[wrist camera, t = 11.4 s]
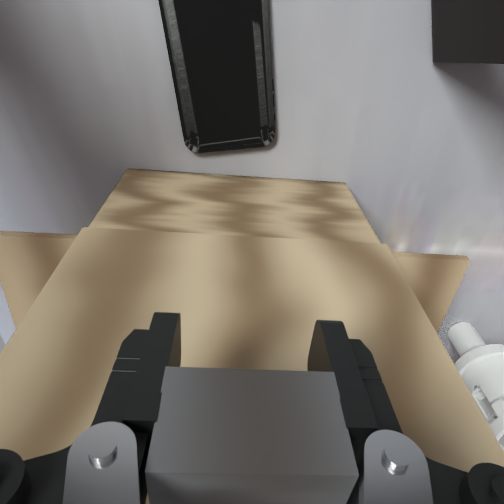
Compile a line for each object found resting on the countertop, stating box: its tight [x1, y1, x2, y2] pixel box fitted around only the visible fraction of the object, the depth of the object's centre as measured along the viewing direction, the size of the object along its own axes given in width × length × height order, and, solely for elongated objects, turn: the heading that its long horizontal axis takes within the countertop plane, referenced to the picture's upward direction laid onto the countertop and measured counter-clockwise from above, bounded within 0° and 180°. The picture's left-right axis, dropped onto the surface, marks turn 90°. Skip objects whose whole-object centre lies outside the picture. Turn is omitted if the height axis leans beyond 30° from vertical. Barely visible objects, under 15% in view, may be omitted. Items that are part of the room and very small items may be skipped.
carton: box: [0, 169, 470, 333], centre depth 36 cm, size 33×18×12 cm, turn 85°
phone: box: [159, 0, 275, 153], centre depth 30 cm, size 8×1×15 cm
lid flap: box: [0, 227, 504, 504], centre depth 17 cm, size 20×18×7 cm
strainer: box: [447, 322, 504, 451], centre depth 41 cm, size 7×7×15 cm
